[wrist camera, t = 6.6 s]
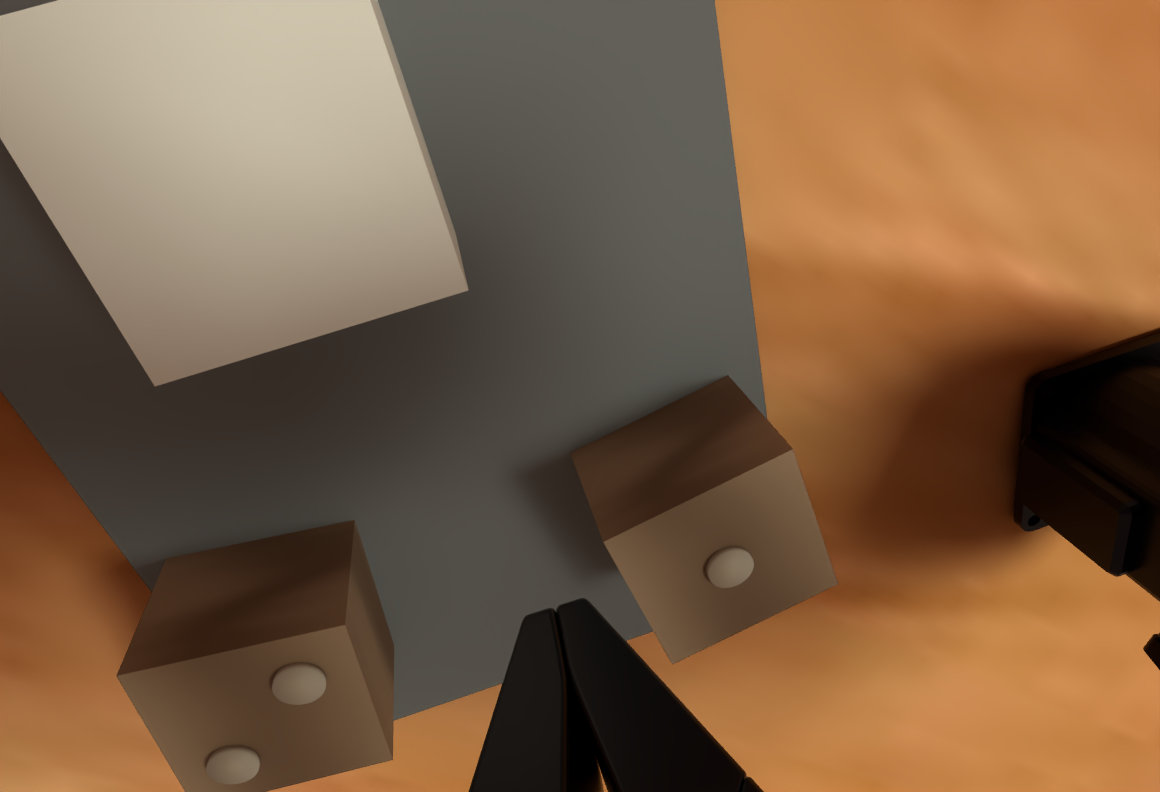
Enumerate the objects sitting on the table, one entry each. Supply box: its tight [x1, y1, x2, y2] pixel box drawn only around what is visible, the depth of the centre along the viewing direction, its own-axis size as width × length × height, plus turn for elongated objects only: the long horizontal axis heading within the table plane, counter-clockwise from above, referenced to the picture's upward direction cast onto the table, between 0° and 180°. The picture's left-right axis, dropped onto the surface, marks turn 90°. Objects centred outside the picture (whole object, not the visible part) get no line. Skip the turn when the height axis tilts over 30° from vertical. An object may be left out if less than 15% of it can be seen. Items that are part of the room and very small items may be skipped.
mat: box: [0, 0, 767, 721], centre depth 18 cm, size 18×26×1 cm
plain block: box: [0, 0, 468, 386], centre depth 14 cm, size 6×6×4 cm
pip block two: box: [117, 520, 394, 792], centre depth 20 cm, size 5×5×4 cm
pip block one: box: [570, 375, 838, 664], centre depth 20 cm, size 5×5×4 cm
